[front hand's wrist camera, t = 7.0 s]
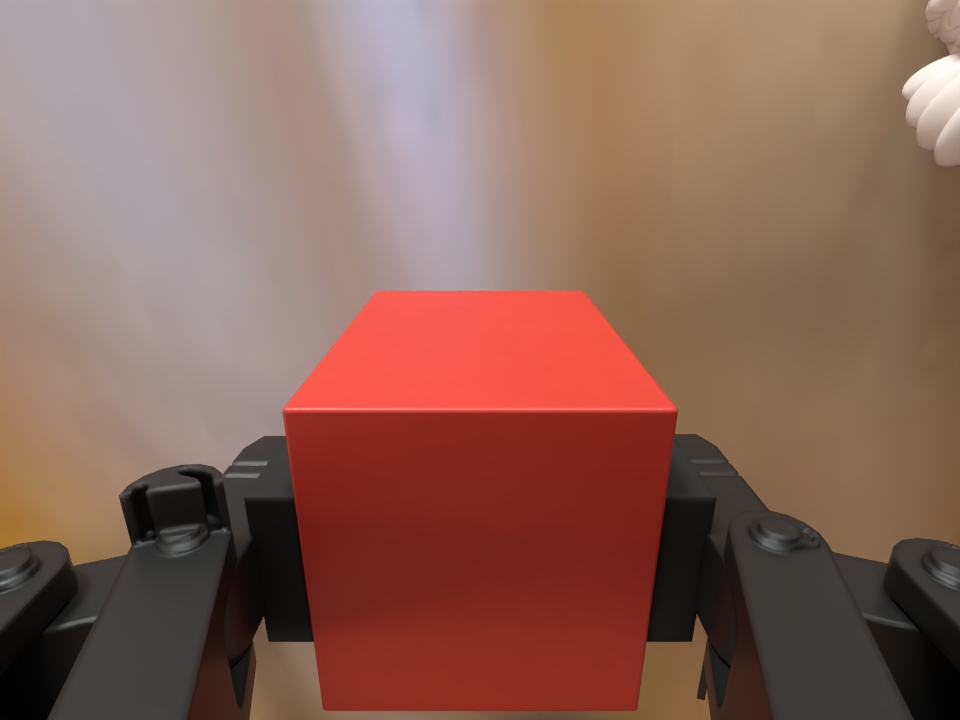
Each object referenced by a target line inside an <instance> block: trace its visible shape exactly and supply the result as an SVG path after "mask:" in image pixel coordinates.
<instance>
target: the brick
mask: <svg viewBox="0 0 960 720" xmlns="http://www.w3.org/2000/svg"><path fill="white" fill-rule="evenodd" d="M677 413H678V411H677V408H676V407H675V405H674V404H673V403H672V402H671V400H670V399H669V398H668V397H667V395H666V394H665V393H664V392H663V390H662V389H661V388H660V386H659V385H658V384H657V383H656V381H655V380H654V379H653V378H652V376H651V375H650V374H649V373H648V371H647V370H646V369H645V368H644V366H643V365H642V364H641V363H640V361H639V360H638V359H637V358H636V356H635V355H634V354H633V353H632V351H631V350H630V349H629V348H628V346H627V345H626V344H625V343H624V341H623V340H622V339H621V338H620V336H619V335H618V334H617V332H616V331H615V330H614V329H613V327H612V326H611V325H610V324H609V322H608V321H607V320H606V319H605V317H604V316H603V315H602V314H601V312H600V311H599V310H598V309H597V307H596V306H595V305H594V304H593V302H592V301H591V300H590V299H589V297H588V296H587V295H586V294H585V292H584V291H377V292H376V293H375V294H374V295H373V296H372V298H371V299H370V300H369V301H368V303H367V304H366V305H365V306H364V308H363V309H362V310H361V311H360V313H359V314H358V315H357V317H356V318H355V319H354V320H353V322H352V323H351V324H350V325H349V327H348V328H347V329H346V330H345V332H344V333H343V334H342V335H341V337H340V338H339V339H338V340H337V342H336V343H335V344H334V345H333V347H332V348H331V349H330V351H329V352H328V353H327V354H326V356H325V357H324V358H323V359H322V361H321V362H320V363H319V364H318V366H317V367H316V368H315V369H314V371H313V372H312V373H311V374H310V376H309V377H308V378H307V379H306V381H305V382H304V383H303V384H302V386H301V387H300V388H299V390H298V391H297V392H296V393H295V395H294V396H293V397H292V398H291V400H290V401H289V402H288V403H287V405H286V406H285V407H284V409H283V417H284V425H285V432H286V440H287V447H288V454H289V462H290V469H291V476H292V484H293V491H294V498H295V506H296V513H297V520H298V528H299V535H300V542H301V550H302V557H303V565H304V572H305V579H306V587H307V594H308V601H309V609H310V616H311V623H312V631H313V638H314V645H315V653H316V660H317V667H318V675H319V682H320V690H321V697H322V704H323V709H324V710H326V711H635V710H637V707H638V700H639V692H640V685H641V678H642V670H643V663H644V656H645V648H646V641H647V634H648V626H649V619H650V611H651V604H652V597H653V589H654V582H655V575H656V567H657V560H658V553H659V545H660V538H661V531H662V523H663V516H664V509H665V501H666V494H667V487H668V479H669V472H670V465H671V457H672V450H673V443H674V435H675V428H676V421H677Z"/></svg>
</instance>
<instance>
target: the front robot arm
mask: <svg viewBox="0 0 960 720" xmlns="http://www.w3.org/2000/svg"><path fill="white" fill-rule="evenodd" d="M119 498H120V502H121V506H122V509H123V513H124V517H125V521H126V525H127V528H128V532H129V536H130V540H131V544H132V546H131V548H130V550H129V552H128V554H127V555H123V556H119V557H115V558H110V559H105V560H100V561H95V562H90V563H85V564H81V565H76V566H73V565H72V561H71V558H70V555H69V552H68V549H67V548H66V547H64V546H63V545H62V544H60V543H59V542H51V541H37V542H29V543H21V544H17V545H13V546H12V547H10V546H9V547H6V548H3V549H0V720H249V717H250V709H251V701H252V693H253V685H254V677H255V669H256V657H255V650H254V644H253V637H254V635H255V633H256V631H257V629H258V627H259V625H260V622H261V620H262V618H263V616H264V618H265V624H266V630H267V635H268V641H269V642H314V638H313V631H312V623H311V616H310V609H309V601H308V594H307V587H306V579H305V572H304V565H303V557H302V550H301V542H300V535H299V528H298V520H297V513H296V506H295V498H294V491H293V484H292V476H291V469H290V462H289V454H288V447H287V440H286V436H264V437H262V438H260V439H259V440H257V441H255V442H254V443H252V444H251V445H249V446H247V447H246V448H244V449H243V450H242V452H241V453H240V454H239V455H238V457H237V458H236V459H235V460H234V461H233V463H232V466H229V467H228V469H227V470H226V471H225V472H224V474H223V477H222V473H221V472H220V471H218V470H217V469H216V468H214V467H211V466H206V465H201V464H192V465H179V466H175V467H170V468H165V469H162V470H159V471H156V472H154V473H151V474H148V475H146V476H143V477H142V478H140V479H138V480H137V481H135V482H133V483H132V484H130V485H129V486H128V487H127V488H126V489H125V490H124V491H123V492H122V493H121V494H120V495H119ZM696 614H697V615H698V617H699V619H700V621H701V623H702V625H703V627H704V629H705V631H706V633H707V636H708V639H707V644H706V650H705V655H704V660H703V666H702V671H701V677H700V682H699V688H698V695H697V698H698V699H702V700H705V695H706V690H707V692H708V700H709V708H710V716H711V720H960V546H957V545H954V544H949V543H947V542H943V541H937V540H928V539H920V538H915V539H907V540H902V541H900V542H899V543H898V544H896V545H895V546H894V547H893V550H892V553H891V557H890V560H889V563H888V564H887V563H882V562H877V561H872V560H867V559H862V558H857V557H852V556H847V555H843V554H839V553H835V552H832V551H831V549H830V547H829V545H828V543H827V542H826V541H825V540H824V538H823V537H822V536H821V535H820V533H818V532H817V531H816V530H814V529H813V528H811V527H810V526H808V525H807V524H806V523H804V522H802V521H800V520H797V519H795V518H793V517H790V516H788V515H785V514H781V513H777V512H773V511H769V509H768V508H767V507H766V506H765V505H764V503H763V502H762V501H761V500H760V499H759V497H758V496H757V495H756V494H755V492H754V491H753V490H752V489H751V488H750V486H749V485H748V484H747V483H746V482H745V480H744V479H743V478H742V477H741V476H738V472H737V471H736V470H735V468H734V467H733V466H732V465H731V464H729V463H728V460H727V459H726V457H725V456H724V455H723V454H722V453H721V451H720V450H719V449H718V448H717V447H716V446H715V445H713V444H711V443H710V442H708V441H706V440H705V439H703V438H702V437H700V436H698V435H697V434H675V435H674V443H673V450H672V457H671V465H670V472H669V479H668V487H667V494H666V501H665V509H664V516H663V523H662V531H661V538H660V545H659V553H658V560H657V567H656V575H655V582H654V589H653V597H652V604H651V611H650V619H649V626H648V634H647V641H646V642H692V637H693V632H694V626H695V620H696Z"/></svg>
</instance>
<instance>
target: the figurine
mask: <svg viewBox="0 0 960 720" xmlns="http://www.w3.org/2000/svg"><path fill="white" fill-rule="evenodd" d="M925 19H926V20H927V26H928V31H929V33H930V34H932V35H933V37H934V38H936V39H939V38H940V40H941V41H942V42H943V43H944V44H946V46H947V49H948V51H949V56H947V57H944V58H942V59H939V60H937V61H935V62H933V63H931V64H929V65H927V66H926V67H924V68H922V69H921V70H919V71H918V72H917V73H915V74H914V75H913V76H912V77H911V78H910V79H909V80H908V81H907V82H906V84H905V85H904V87H903V90H902V97H903V98H904V99H905V100H907V101H908V102H909V104H908V106H907V110H906V116H905V120H906V123H907V124H908V125H909V126H910V127H913V128H917V129H916V140H917V143H918V145H919V146H920V147H921V148H923V149H925V150H933V151H934V159H935V162H936V163H937V164H938V165H940V166H956V165H960V0H929V1H928V5H927V8H926V12H925Z"/></svg>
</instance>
